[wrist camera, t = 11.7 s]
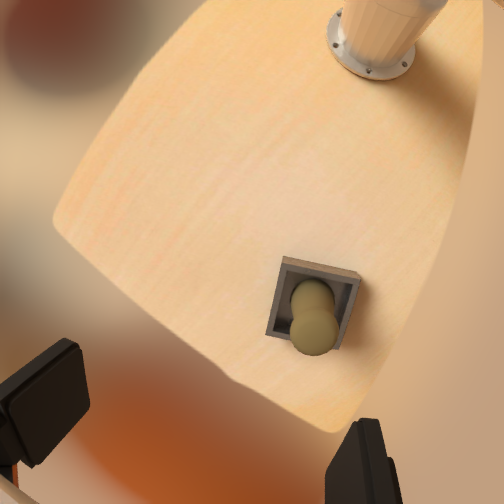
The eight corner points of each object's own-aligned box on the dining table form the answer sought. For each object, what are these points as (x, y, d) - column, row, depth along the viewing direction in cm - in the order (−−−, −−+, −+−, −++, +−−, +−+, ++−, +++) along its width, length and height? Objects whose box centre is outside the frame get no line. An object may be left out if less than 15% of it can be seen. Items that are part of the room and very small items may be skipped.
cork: (299, 272, 40) (298, 303, 29) (342, 288, 39) (355, 324, 29) (283, 312, 41) (276, 353, 31) (324, 327, 41) (329, 371, 30)
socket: (283, 255, 41) (281, 262, 37) (356, 271, 40) (360, 279, 36) (268, 323, 43) (265, 334, 40) (336, 337, 42) (338, 349, 39)
